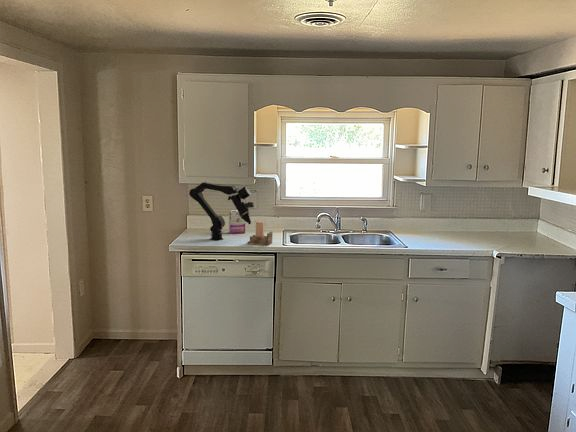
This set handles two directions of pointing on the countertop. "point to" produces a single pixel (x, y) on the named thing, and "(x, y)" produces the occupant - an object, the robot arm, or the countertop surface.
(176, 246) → the countertop surface
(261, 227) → the clay strip
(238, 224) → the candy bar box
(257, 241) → the drying rack
